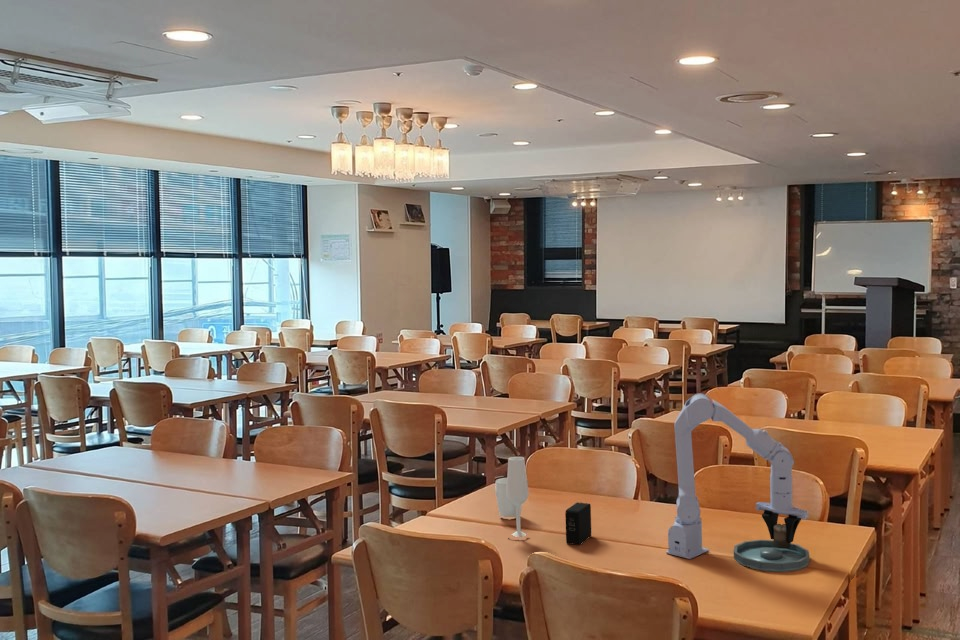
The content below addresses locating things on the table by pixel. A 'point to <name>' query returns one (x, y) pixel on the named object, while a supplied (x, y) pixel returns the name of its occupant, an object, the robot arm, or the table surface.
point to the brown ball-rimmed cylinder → (780, 536)
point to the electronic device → (578, 523)
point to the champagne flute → (517, 487)
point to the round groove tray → (785, 558)
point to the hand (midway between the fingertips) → (782, 540)
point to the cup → (504, 499)
